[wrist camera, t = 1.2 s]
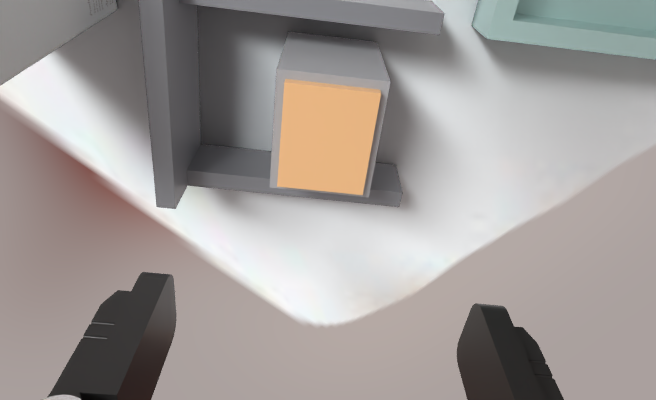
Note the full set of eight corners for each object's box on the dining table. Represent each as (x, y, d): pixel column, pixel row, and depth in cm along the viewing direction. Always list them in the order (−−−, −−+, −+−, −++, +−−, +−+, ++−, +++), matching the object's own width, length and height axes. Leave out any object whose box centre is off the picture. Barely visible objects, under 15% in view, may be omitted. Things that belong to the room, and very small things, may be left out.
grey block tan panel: (288, 31, 26) (275, 72, 20) (377, 42, 27) (392, 85, 20) (281, 130, 30) (268, 192, 23) (360, 138, 30) (369, 202, 24)
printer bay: (176, -32, 25) (137, -15, 20) (431, 0, 26) (456, 24, 20) (185, 156, 31) (156, 207, 25) (392, 178, 31) (404, 231, 26)
